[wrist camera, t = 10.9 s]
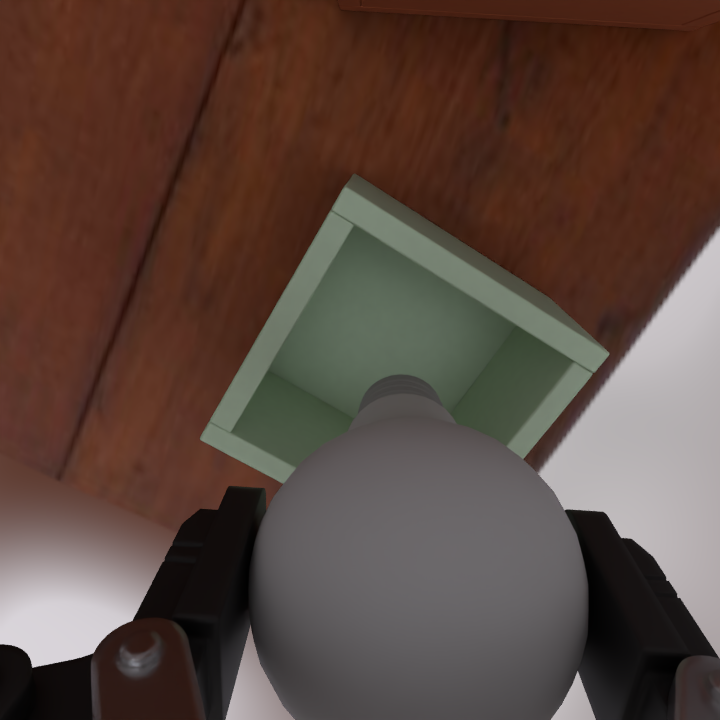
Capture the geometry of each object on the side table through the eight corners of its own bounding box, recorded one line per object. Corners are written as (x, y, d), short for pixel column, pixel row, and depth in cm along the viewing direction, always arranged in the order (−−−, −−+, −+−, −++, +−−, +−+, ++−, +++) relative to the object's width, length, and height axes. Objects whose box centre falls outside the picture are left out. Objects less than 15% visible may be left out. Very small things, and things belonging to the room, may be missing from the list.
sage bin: (354, 172, 23) (344, 185, 16) (550, 297, 24) (611, 353, 18) (242, 366, 26) (198, 439, 19) (423, 466, 27) (436, 565, 21)
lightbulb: (453, 274, 17) (571, 487, 6) (525, 444, 19) (703, 817, 8) (268, 356, 18) (119, 650, 8) (354, 508, 20) (327, 909, 9)
